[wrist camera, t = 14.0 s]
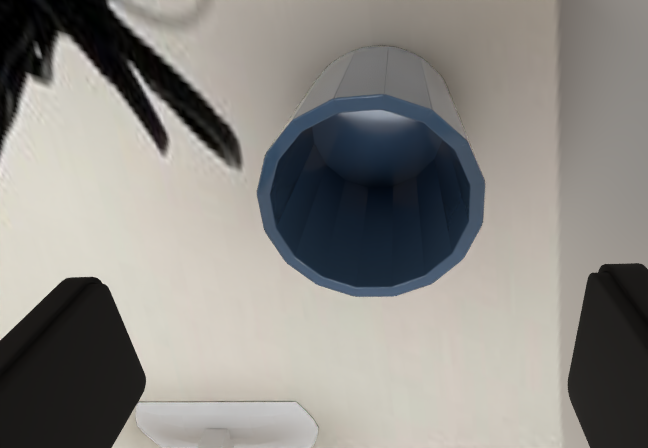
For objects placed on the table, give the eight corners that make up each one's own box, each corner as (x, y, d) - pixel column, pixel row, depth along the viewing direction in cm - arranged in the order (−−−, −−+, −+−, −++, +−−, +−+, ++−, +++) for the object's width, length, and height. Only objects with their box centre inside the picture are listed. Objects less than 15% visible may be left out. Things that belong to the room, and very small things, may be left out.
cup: (455, 37, 18) (491, 85, 11) (452, 186, 21) (478, 296, 14) (295, 53, 19) (237, 106, 12) (314, 192, 22) (277, 297, 15)
